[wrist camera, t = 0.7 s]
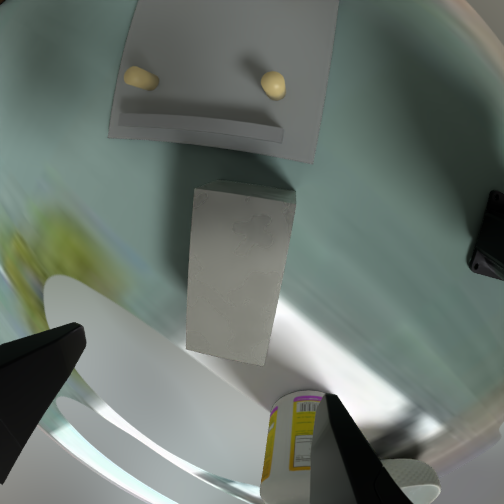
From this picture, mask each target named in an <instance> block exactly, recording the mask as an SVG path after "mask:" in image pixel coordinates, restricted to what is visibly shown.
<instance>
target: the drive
mask: <svg viewBox="0 0 504 504" xmlns="http://www.w3.org/2000/svg"><path fill="white" fill-rule="evenodd" d="M295 208H296V191H292V190H286V189H280V188H274V187H268V186H262V185H255V184H249V183H242V182H235V181H228V180H220V179H218V180H216V181H213V182H210V183H208V184H205V185H202V186H200V187H197V188H195V189H194V200H193V212H192V224H191V237H190V252H189V270H188V291H187V322H186V349H187V350H191V351H195V352H199V353H203V354H207V355H211V356H216V357H220V358H225V359H229V360H234V361H239V362H244V363H249V364H254V365H259V366H264V363H265V359H266V354H267V350H268V345H269V341H270V336H271V332H272V327H273V322H274V317H275V313H276V308H277V303H278V298H279V293H280V288H281V283H282V278H283V273H284V268H285V263H286V258H287V252H288V247H289V242H290V236H291V231H292V225H293V220H294V214H295Z"/></svg>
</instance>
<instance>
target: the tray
mask: <svg viewBox="0 0 504 504" xmlns="http://www.w3.org/2000/svg"><path fill="white" fill-rule="evenodd" d="M338 5H339V0H138V3H137V6H136V9H135V13H134V16H133V19H132V22H131V26H130V29H129V32H128V36H127V40H126V44H125V47H124V51H123V55H122V60H121V64H120V68H119V73H118V78H117V83H116V88H115V93H114V99H113V105H112V111H111V118H110V125H109V133H108V138H118V139H137V140H151V141H163V142H174V143H184V144H193V145H202V146H210V147H217V148H224V149H231V150H238V151H244V152H250V153H256V154H262V155H268V156H273V157H279V158H284V159H289V160H294V161H299V162H304V163H308V164H313V162H314V156H315V151H316V146H317V141H318V135H319V130H320V124H321V119H322V113H323V107H324V101H325V95H326V89H327V83H328V77H329V70H330V64H331V57H332V50H333V43H334V36H335V29H336V21H337V13H338Z"/></svg>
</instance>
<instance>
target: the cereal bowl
mask: <svg viewBox="0 0 504 504" xmlns="http://www.w3.org/2000/svg"><path fill="white" fill-rule="evenodd" d="M380 461H381V462H382V464H383V467H385V468H386V470H387V471H388V473H389V474H390V476H391V477H392V478H393V480H394V481H395V482H396V484H397V485H398V486H399V487H400V489H401V490H402V491H403V492H404V494H405V495H406V496H407V497H408V498H409V499H410V500H411V501H412V503H413V504H429V503H431V502H432V501H433V500H435V499H436V497H437V496H438V495H439V494H440V491H441V485H440V482H439V479H438V476H437V474H436V472H435V471H434V469H432V467H430V466H429V465H428V464H426V463H424V462H422V461H419V460H415V459H413V460H412V459H382V460H380Z"/></svg>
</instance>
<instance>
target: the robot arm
mask: <svg viewBox="0 0 504 504" xmlns="http://www.w3.org/2000/svg"><path fill="white" fill-rule="evenodd" d="M495 195H496V199H495ZM475 264H476V266H475V267H474V265H475ZM469 268H470V270H471V271H472V272H474V273H477V274H481V275H485V276H488V277H492V278H496V279H499V280H503V281H504V194H503V193H501V192H499V191H496V190H492V191H491V193H490V196H489V200H488V204H487V208H486V212H485V216H484V220H483V223H482V227H481V230H480V234H479V237H478V240H477V243H476V246H475V249H474V252H473V255H472V258H471V261H470V264H469ZM85 347H86V337H85V331H84V327H83V326H82V325H80V324H78V323H76V322H73V323H69V324H66V325H63V326H60V327H57V328H53V329H50V330H47V331H44V332H40V333H37V334H34V335H31V336H27V337H24V338H21V339H17V340H14V341H11V342H7V343H4V344H1V345H0V484H2V485H3V483H4V482H5V480H6V478H7V476H8V474H9V472H10V471H11V469H12V467H13V465H14V463H15V462H16V460H17V458H18V456H19V455H20V453H21V451H22V449H23V448H24V446H25V444H26V443H27V441H28V439H29V437H30V436H31V434H32V433H33V431H34V429H35V428H36V426H37V425H38V423H39V421H40V420H41V418H42V417H43V415H44V413H45V412H46V410H47V409H48V407H49V406H50V404H51V403H52V401H53V400H54V398H55V397H56V395H57V394H58V392H59V391H60V389H61V388H62V386H63V385H64V383H65V382H66V381H67V379H68V377H69V376H70V374H71V373H72V371H73V369H74V367H75V365H76V363H77V362H78V360H79V358H80V356H81V354H82V353H83V350H84V349H85ZM309 504H413V503H412V501H411V500H410V499H409V498H408V497H407V496H406V495H405V494H404V492H403V491H402V490H401V489H400V487H399V486H398V485H397V484H396V482H395V481H394V480H393V478H392V477H391V476H390V474H389V473H388V471H387V470H386V468H385V467H383V464H382V462H381V461H380V459H379V458H378V456H377V455H376V453H375V452H374V450H373V449H372V447H371V446H370V444H369V443H368V441H367V440H366V438H365V437H364V435H363V434H362V432H361V431H360V429H359V428H358V426H357V425H356V423H355V422H354V420H353V419H352V417H351V416H350V414H349V413H348V411H347V410H346V408H345V407H344V405H343V404H342V402H341V401H340V399H339V398H338V396H337V395H335V394H327V393H326V394H324V395H323V397H322V399H321V401H320V403H319V405H318V407H317V409H316V413H315V422H314V430H313V437H312V445H311V466H310V503H309Z"/></svg>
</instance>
